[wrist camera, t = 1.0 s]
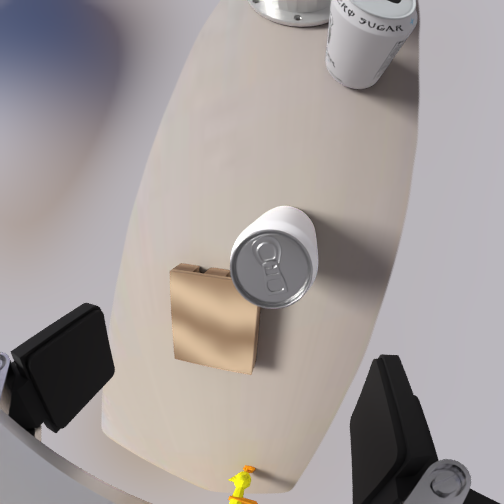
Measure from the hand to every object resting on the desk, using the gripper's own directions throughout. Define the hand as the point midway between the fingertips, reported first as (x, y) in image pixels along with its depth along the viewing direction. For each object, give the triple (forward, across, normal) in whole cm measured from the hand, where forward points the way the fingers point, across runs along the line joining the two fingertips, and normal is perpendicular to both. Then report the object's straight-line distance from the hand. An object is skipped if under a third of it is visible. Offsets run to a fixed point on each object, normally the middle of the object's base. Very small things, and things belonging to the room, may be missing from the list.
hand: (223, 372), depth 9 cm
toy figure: (+23, +1, +45) cm, 51 cm away
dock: (+23, +7, +11) cm, 26 cm away
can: (+23, 0, 0) cm, 23 cm away
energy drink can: (+23, -6, -19) cm, 31 cm away
